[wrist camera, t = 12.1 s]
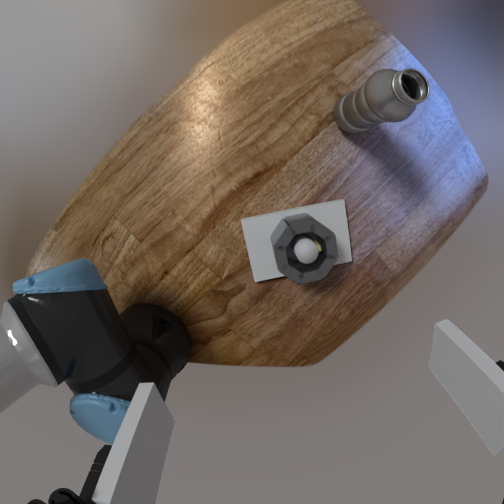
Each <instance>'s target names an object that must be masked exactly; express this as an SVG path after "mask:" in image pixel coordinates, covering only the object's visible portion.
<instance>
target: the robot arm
mask: <svg viewBox="0 0 504 504" xmlns="http://www.w3.org/2000/svg"><path fill="white" fill-rule="evenodd" d="M107 288H108V287H107V285H105V284H104V282H103V280H102V278H101V276H100V274H99V272H98V270H97V268H96V266H95V265H94V263H93V262H91V261H90V260H88V259H78V260H74V261H71V262H68V263H65V264H62V265H59V266H56V267H53V268H50V269H47V270H44V271H42V272H39V273H36V274H34V275H31V276H28V277H26V278H23V279H21V280H18V281H16V282H14V283H13V293H14V294H16V295H15V296H14V297H12V298H11V299H10V300H8V301H6V302H5V303H4V307H3V312H2V316H1V319H0V413H2V412H3V411H4V410H5V409H7V408H8V407H9V406H11V405H12V404H13V403H14V402H16V401H17V400H18V399H20V398H21V397H22V396H23V395H25V394H26V393H27V392H29V391H30V390H31V389H33V388H34V387H35V386H36V385H38V384H44V385H48V386H52V387H57V386H58V385H59V384H61V383H62V382H63V381H65V382H66V384H67V385H68V386H69V388H70V389H71V391H72V392H73V394H74V397H73V398H72V399H71V400H70V413H71V415H72V417H73V419H74V420H75V422H76V423H77V424H78V425H79V426H80V427H81V428H82V429H84V430H85V431H86V432H88V433H89V434H91V435H92V436H94V437H96V438H98V439H100V440H102V441H105V442H107V443H110V444H113V445H104V447H103V448H102V449H101V450H100V451H99V452H98V453H97V455H96V458H95V460H94V464H93V465H92V467H91V469H90V470H91V471H90V472H89V474H88V476H87V479H86V481H85V484H84V486H83V488H82V491H81V493H80V496H77V495H76V494H75V493H74V492H73V491H71V490H70V489H67V488H60V489H57V490H55V491H54V492H53V493H52V494H51V495H50V498H49V501H48V502H49V504H155V501H156V497H157V492H158V488H159V483H160V479H161V475H162V470H163V466H164V462H165V458H166V454H167V450H168V445H169V442H170V437H171V434H172V430H173V426H174V422H175V421H174V419H173V417H172V416H171V414H170V412H169V410H168V408H167V407H166V405H165V403H164V402H165V399H166V395H167V392H168V388H169V385H170V382H171V380H172V379H173V378H174V377H175V376H176V374H177V373H179V372H180V371H181V370H182V369H183V368H184V367H185V365H186V364H187V362H188V359H189V356H190V352H191V339H190V335H189V333H188V331H187V329H186V327H185V326H184V324H183V323H182V322H181V320H180V319H179V318H178V317H176V316H175V315H174V314H173V313H171V312H170V311H168V310H166V309H164V308H162V307H160V306H157V305H153V304H136V305H132V306H130V307H128V308H126V309H125V310H124V311H122V313H121V314H120V315H119V313H118V311H117V309H116V307H115V305H114V303H113V301H112V299H111V296H110V294H109V292H108V290H107ZM429 369H430V370H431V372H432V373H433V374H434V375H435V377H436V378H437V379H438V381H439V382H440V383H441V384H442V386H443V387H444V388H445V390H446V391H447V392H448V394H449V395H450V396H451V398H452V399H453V400H454V402H455V403H456V404H457V406H458V407H459V408H460V410H461V411H462V412H463V414H464V415H465V416H466V418H467V419H468V421H469V422H470V424H471V425H472V426H473V428H474V429H475V430H476V432H477V433H478V435H479V436H480V438H481V439H482V441H483V442H484V444H485V445H486V446H487V448H488V449H489V451H490V452H491V454H492V455H493V457H494V456H496V455H497V454H499V453H500V452H501V451H502V450H504V362H503V361H501V360H500V361H498V362H496V363H495V362H494V361H493V360H491V358H489V357H488V356H487V355H486V354H485V353H484V352H483V351H482V350H481V349H480V348H479V347H478V346H477V345H476V344H474V343H473V342H472V341H471V340H470V339H469V338H468V337H467V336H466V335H464V333H463V332H461V331H460V330H459V329H458V328H457V327H456V326H455V325H454V324H452V323H451V322H450V321H449V320H448V319H446V320H443V321H441V322H438V323H435V328H434V336H433V343H432V350H431V356H430V363H429ZM28 504H46V503H44V502H43V501H41V500H38V499H35V500H32V501H30V502H29V503H28ZM502 504H504V499H503V503H502Z"/></svg>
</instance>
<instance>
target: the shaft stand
mask: <svg viewBox="0 0 504 504" xmlns="http://www.w3.org/2000/svg"><path fill="white" fill-rule="evenodd" d="M301 213H307V214H309V215H310V216H312V217H313V218H315V219H316V220H317V221H319V222H320V223H322V224H323V225H325V226H326V227H327V228H328V229H330V230H331V231H332V232H334V234H335V235H336V242H337V250H338V257H337V259H338V260H337V261H336V263H335V264H334V265H337V264H342V263H346V262H351V261H352V257H351V248H350V239H349V231H348V223H347V216H346V209H345V202H344V200H343V199H340V200H334V201H329V202H323V203H318V204H313V205H307V206H302V207H297V208H292V209H287V210H282V211H277V212H272V213H267V214H262V215H258V216H253V217H248V218H243V219H241V223H242V227H243V232H244V236H245V241H246V245H247V250H248V254H249V258H250V263H251V267H252V272H253V276H254V281H255V282H258V281H262V280H267V279H272V278H277V277H282V276H285V275H283V274H281V273H280V272H279V270H278V269H277V265H276V262H275V259H274V254H273V249H272V244H271V239H270V237H271V234H272V233H273V231H274V230H275V228H276V227H277V225H278V224H279V222H280V221H281V219H282V218H283V219H284V217H286V216H291V215H296V214H301ZM285 250H286V255H288V256H289V257H291V258H292V259H294V260H299V261H300V262H302V263H305V264H308V263H312V262H313V261H315V260H316V258H317V257H318V252H319V251H321V247H320V245H319V244H318V242H317V237H316V233H314V232H313V231H310V232H305V233H300V234H295V235H294V237H293V238H292V240H291V241H290V243H289V244H288V246H287V247H286V249H285Z"/></svg>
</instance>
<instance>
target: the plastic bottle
mask: <svg viewBox="0 0 504 504" xmlns="http://www.w3.org/2000/svg"><path fill="white" fill-rule="evenodd" d="M428 96H429V84H428V81H427V79H426V78H425V76H424V75H423V74H422V73H421V72H419V71H418V70H416V69H412V68H409V69H405V70H403V71H397V70H393V69H382V70H378V71H376V72H375V73H373V74H372V75H371V76H370V77H369V78H368V80H367V81H366V82H365V83H364V85H363V86H362V87H361V88H359V89H358V90H356V91H353V92H349V93H346V94H344V95H342V96H341V97H340V98H339V99H338V100H337V102H336V104H335V106H334V111H333V113H334V119H335V121H336V123H337V125H338V126H339V127H340V128H341V129H343V130H344V131H346V132H349V133H354V134H360V133H364V132H366V131H367V130H369V129H370V128H372V127H373V126H374V125H376V124H378V123H383V122H401V121H404V120H406V119H407V118H408V117H409V116H410V115H411V114H412V113H413V112H414V110H415V109H416V106H417V104H419V103H420V102H423V101H425V100H426V99H427V98H428Z"/></svg>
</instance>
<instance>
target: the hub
mask: <svg viewBox="0 0 504 504" xmlns="http://www.w3.org/2000/svg"><path fill="white" fill-rule="evenodd" d="M310 231H313V232H314V233H316V237H317V242H318V244H319V245H320V247H321V251H319V252H318V257H317V258H316V260H315V261H313V262H312V263H308V264H305V263H302V262H300V261H299V260H294V259H292V258H291V257H289V256H288V255H286V250H285V249H286V247H287V246H288V244H289V243H290V241H291V240H292V238H293V237H294V235H295V234H300V233H305V232H310ZM270 239H271V244H272V249H273V254H274V259H275V262H276V265H277V269H278V270H279V272H280V273H281V274H283V275H285V276H286V277H288V278H290V279H291V280H293V281H294V282H296V283H299V282H300V284H303V283H308V282H312V281H317V280H321V279H323V278H322V277H324V278H325V277H326V275H327V274H328V272H329V271H330V270H331V268H332V267H333V265H334V264H335V263H336V261H337V260H338V259H337V257H338V250H337V242H336V235H335V234H334V232H332V231H331V230H330V229H328V228H327V227H326V226H325V225H323V224H322V223H320V222H319V221H317V220H316V219H315V218H313V217H312V216H310V215H309V214H307V213H301V214H296V215H291V216H286V217H284V219H283V218H282V219H281V221H280V222H279V224H278V225H277V227H276V228H275V230H274V231H273V233H272V234H271V237H270Z"/></svg>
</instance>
